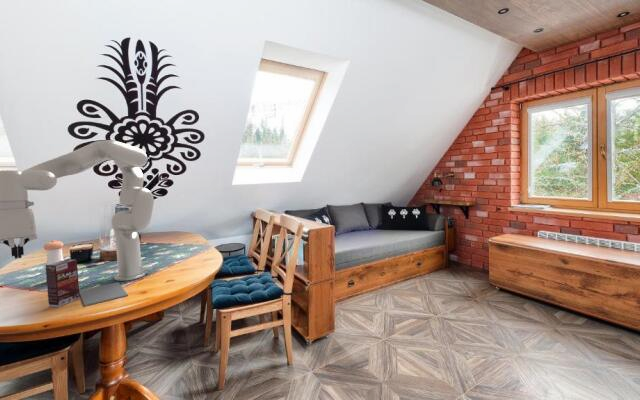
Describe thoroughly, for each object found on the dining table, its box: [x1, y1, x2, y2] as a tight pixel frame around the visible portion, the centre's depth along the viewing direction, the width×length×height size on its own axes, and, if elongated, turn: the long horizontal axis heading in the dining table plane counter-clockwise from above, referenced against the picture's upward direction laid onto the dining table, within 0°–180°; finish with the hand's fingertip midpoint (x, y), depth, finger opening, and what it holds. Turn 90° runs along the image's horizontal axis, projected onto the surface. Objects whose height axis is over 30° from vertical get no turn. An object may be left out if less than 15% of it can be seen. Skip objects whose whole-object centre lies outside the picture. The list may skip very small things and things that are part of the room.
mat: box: [79, 281, 129, 307], centre depth 127 cm, size 14×20×1 cm
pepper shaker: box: [43, 239, 65, 280], centre depth 143 cm, size 7×7×19 cm
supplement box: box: [45, 258, 81, 308], centre depth 119 cm, size 9×5×16 cm, turn 168°
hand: (18, 257), depth 110 cm, fingers closed
